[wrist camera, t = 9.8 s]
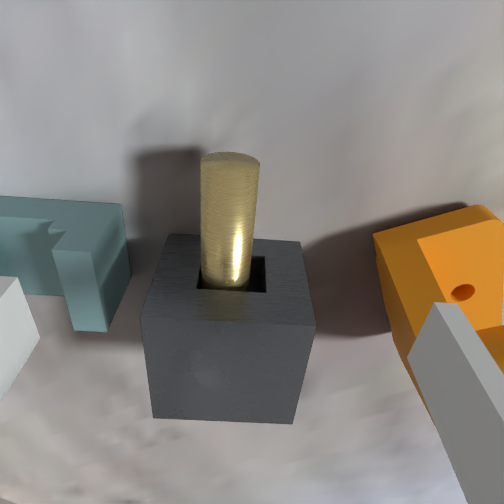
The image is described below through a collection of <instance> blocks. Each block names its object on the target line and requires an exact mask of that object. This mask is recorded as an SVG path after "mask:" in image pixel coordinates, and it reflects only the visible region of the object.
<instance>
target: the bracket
mask: <svg viewBox="0 0 504 504" xmlns="http://www.w3.org/2000/svg"><path fill="white" fill-rule="evenodd" d="M373 239H374V244H375V249H376V254H377V257H375V258H376V263H377V268H378V273H379V278H380V283H381V289H382V294H383V299H384V304H385V309H386V312H387V315H388V317H389V321H390V326H391V331H392V337H393V341H394V343H395V346H396V348H397V350H398V353H399V355H400V358H401V360H402V362H403V364H404V366H405V368H406V370H407V371H408V373H409V375H410V377H411V379H412V381H413V383H414V385H415V387H416V389H417V391H418V393H419V395H420V397H421V399H422V401H423V403H424V405H425V407H426V409H427V411H428V413H429V415H430V417H431V414H430V412H429V409H428V407H427V405H426V402H425V400H424V397H423V395H422V393H421V390H420V388H419V385H418V383H417V381H416V378H415V376H414V374H413V371H412V369H411V366H410V364H409V362H408V359H407V356H408V354H409V352H410V350H411V348H412V346H413V344H414V342H415V340H416V338H417V336H418V334H419V332H420V330H421V328H422V326H423V324H424V322H425V320H426V318H427V316H428V314H429V312H430V309H431V307H432V305H433V303H434V302H440V303H456V304H458V306H459V307H460V309H461V310H462V312H463V313H464V315H465V316H466V318H467V319H468V321H469V322H470V324H471V325H472V327H473V328H474V330H475V332H476V333H477V335H478V336H479V338H480V339H481V341H482V342H483V344H484V345H485V347H486V348H487V350H488V351H489V353H490V355H491V356H492V358H493V359H494V361H495V362H496V364H497V365H498V367H499V368H500V370H501V371H502V373H503V374H504V326H503V325H501V324H502V302H503V280H504V223H503V222H502V221H501V220H499V219H498V218H497V217H496V216H495V215H494V214H493V213H492V212H490V211H489V210H488V209H487V208H486V207H484V206H482V205H473V206H469V207H466V208H462V209H459V210H455V211H451V212H448V213H444V214H441V215H437V216H434V217H430V218H427V219H423V220H419V221H416V222H412V223H409V224H405V225H402V226H398V227H394V228H391V229H387V230H384V231H380V232H377V233H373ZM431 419H432V417H431ZM432 421H433V419H432ZM433 423H434V421H433ZM434 425H435V424H434ZM435 427H436V426H435Z"/></svg>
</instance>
